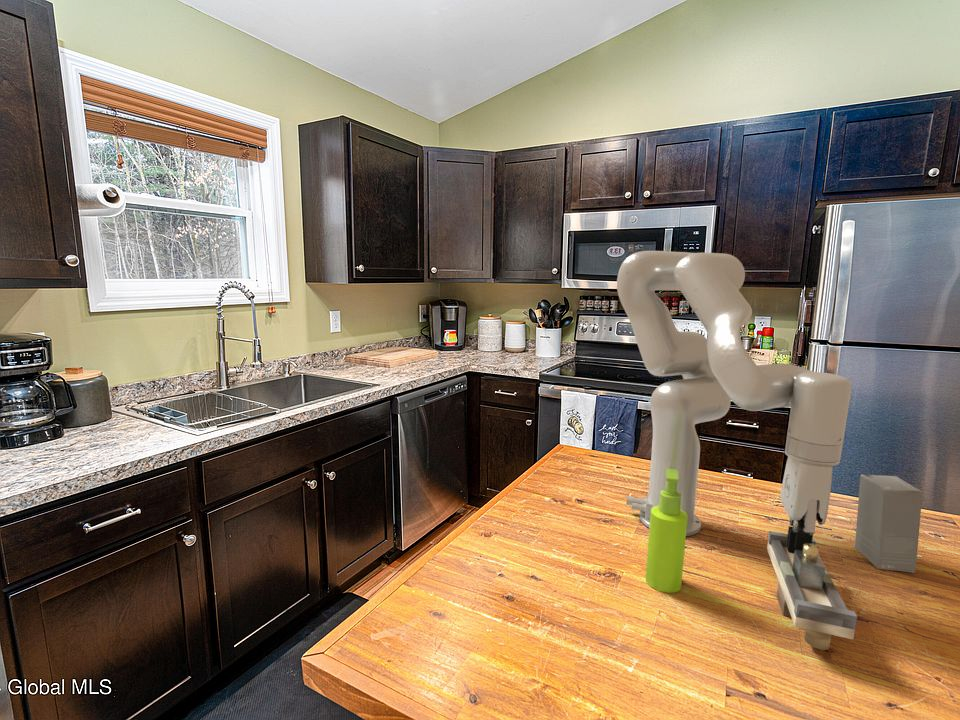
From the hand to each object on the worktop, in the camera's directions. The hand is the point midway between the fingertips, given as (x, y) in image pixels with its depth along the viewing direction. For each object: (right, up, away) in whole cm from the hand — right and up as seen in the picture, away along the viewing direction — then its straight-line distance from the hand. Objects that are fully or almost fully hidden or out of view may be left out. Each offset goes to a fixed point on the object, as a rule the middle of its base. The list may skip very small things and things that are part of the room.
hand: (797, 551), depth 84 cm
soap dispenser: (-21, -7, +4) cm, 23 cm away
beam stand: (-2, -8, -4) cm, 9 cm away
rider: (-2, -3, -5) cm, 6 cm away
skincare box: (+23, -6, +11) cm, 27 cm away
